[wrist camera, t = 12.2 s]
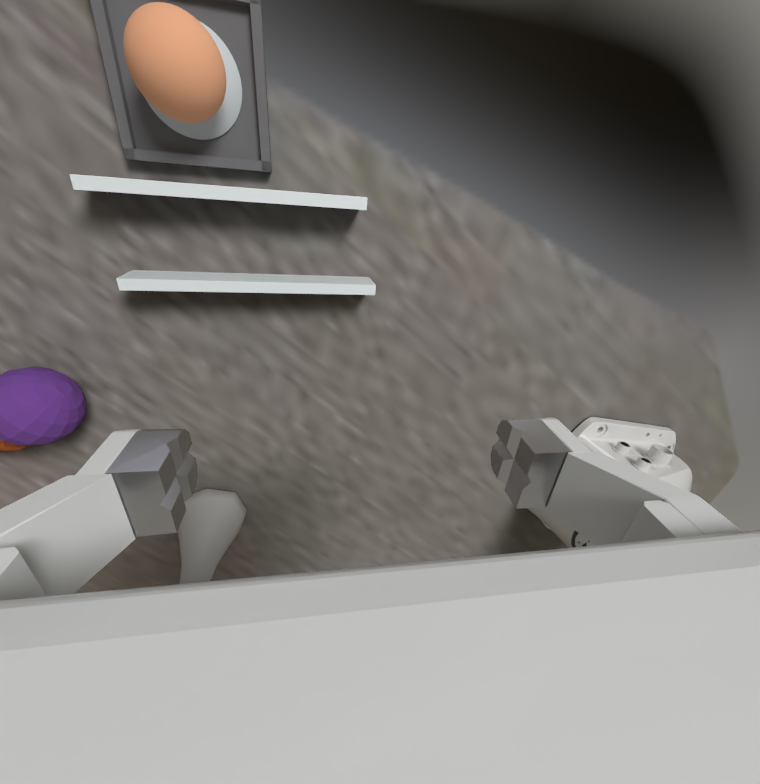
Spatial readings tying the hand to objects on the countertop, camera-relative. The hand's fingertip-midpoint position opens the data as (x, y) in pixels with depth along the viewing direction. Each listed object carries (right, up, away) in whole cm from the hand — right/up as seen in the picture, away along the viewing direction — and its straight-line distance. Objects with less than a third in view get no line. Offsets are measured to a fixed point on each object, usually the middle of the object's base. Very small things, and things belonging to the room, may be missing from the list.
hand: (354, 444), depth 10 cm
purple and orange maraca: (-32, -2, +21) cm, 39 cm away
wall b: (-10, +16, +17) cm, 25 cm away
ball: (-11, +21, +13) cm, 27 cm away
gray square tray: (-11, +21, +13) cm, 27 cm away
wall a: (-9, +11, +20) cm, 24 cm away
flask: (-18, -12, +30) cm, 37 cm away
